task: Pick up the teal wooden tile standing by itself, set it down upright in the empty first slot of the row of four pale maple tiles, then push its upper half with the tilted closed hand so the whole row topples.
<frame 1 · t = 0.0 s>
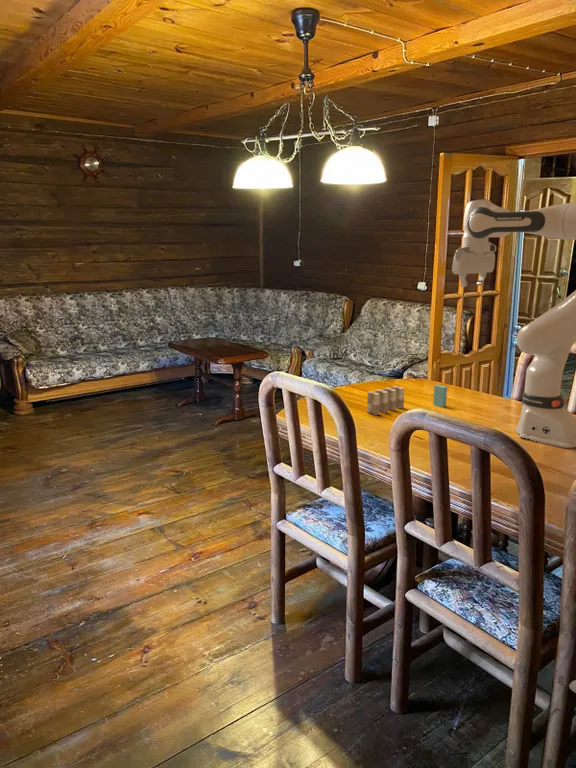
hand: (472, 286, 214), 48 cm above the table, tool pointing down, fingers open, 8 cm apart
domino 5: (373, 413, 226), on the table
domino 1: (439, 405, 235), on the table
domino 2: (397, 407, 233), on the table
domino 4: (381, 411, 228), on the table
domino 3: (389, 409, 231), on the table
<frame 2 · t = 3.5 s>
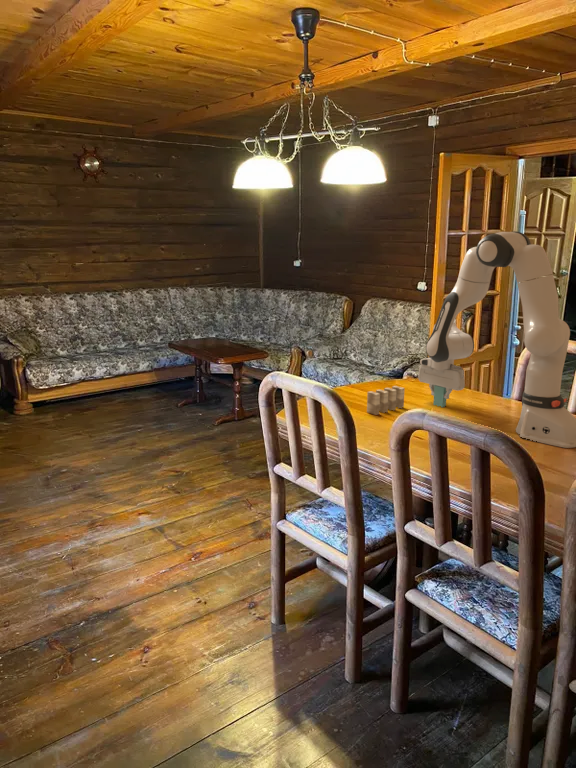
hand: (440, 396, 234), 4 cm above the table, tool pointing down, fingers closed on domino 1, 5 cm apart
domino 1: (439, 405, 235), on the table, touching gripper
everything else where it was.
when the fingers open (5 cm above the table, at t = 8.6 s): domino 1 stays where it is, on the table.
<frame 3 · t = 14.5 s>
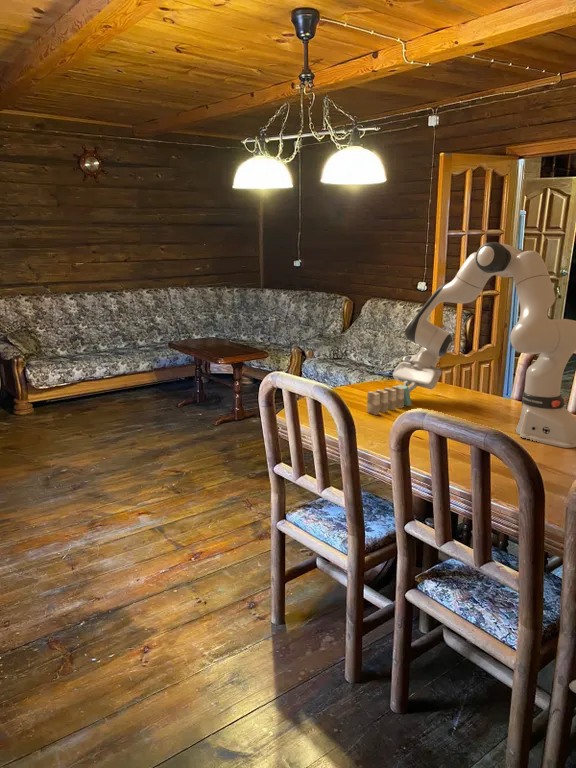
hand: (405, 391, 235), 5 cm above the table, tool tilted 45°, fingers closed
domino 1: (405, 404, 236), on the table, tilted 17°
everything else where it was.
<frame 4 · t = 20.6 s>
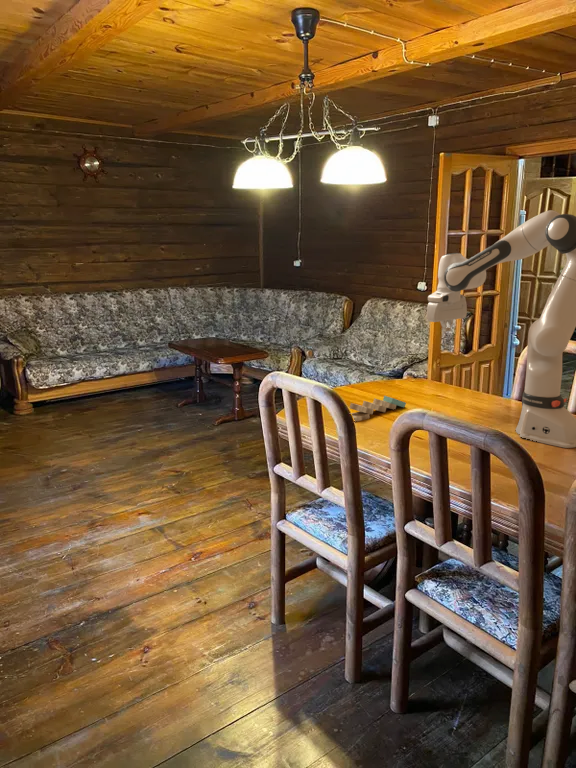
hand: (446, 331, 232), 29 cm above the table, tool pointing down, fingers closed
domino 5: (365, 415, 221), point 1 cm above the table, tilted 90°
domino 1: (401, 403, 234), point 1 cm above the table, tilted 67°, touching domino 2
domino 2: (391, 406, 232), point 1 cm above the table, tilted 69°, touching domino 1, domino 3
domino 4: (368, 410, 223), point 2 cm above the table, tilted 69°, touching domino 3
domino 3: (381, 408, 228), point 1 cm above the table, tilted 69°, touching domino 2, domino 4
at the end: domino 5 tilted 90°; domino 1 inside the target area (0.9 cm from its centre), point 0.9 cm above the table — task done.
